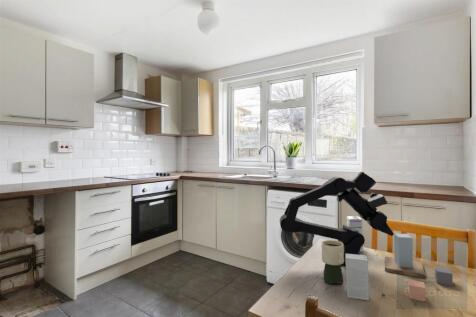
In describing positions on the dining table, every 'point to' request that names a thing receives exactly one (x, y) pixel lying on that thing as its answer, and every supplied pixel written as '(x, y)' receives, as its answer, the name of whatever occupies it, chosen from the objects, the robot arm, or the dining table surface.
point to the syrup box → (355, 224)
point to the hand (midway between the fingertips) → (388, 231)
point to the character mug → (333, 260)
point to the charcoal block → (443, 276)
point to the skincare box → (357, 276)
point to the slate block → (403, 250)
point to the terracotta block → (417, 290)
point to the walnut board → (404, 268)
